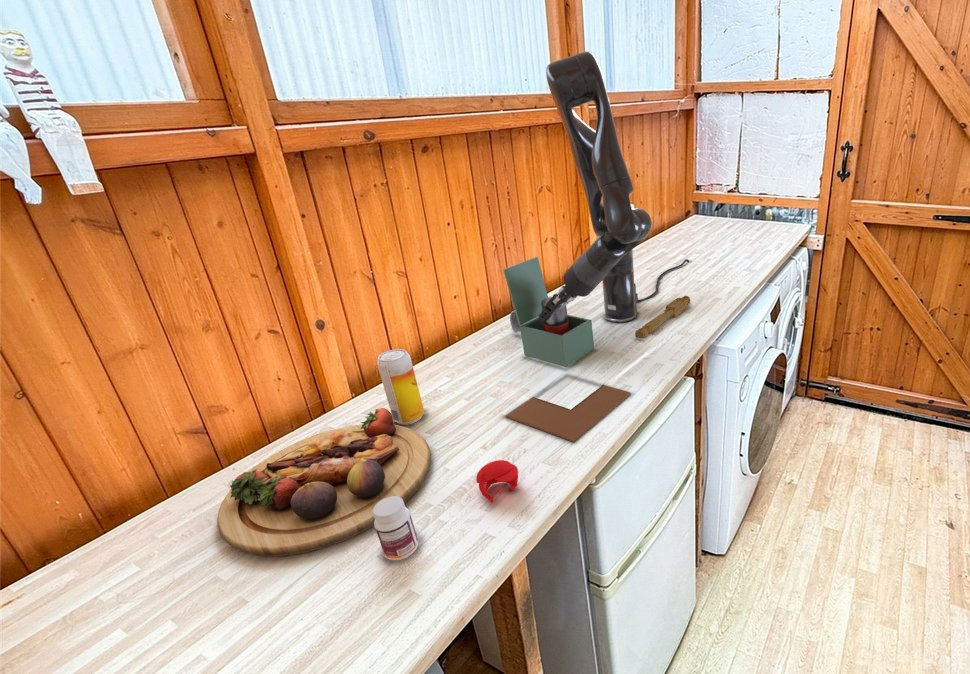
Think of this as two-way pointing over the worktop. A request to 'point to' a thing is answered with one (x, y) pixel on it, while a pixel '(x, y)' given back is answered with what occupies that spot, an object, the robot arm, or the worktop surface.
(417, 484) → the wooden plate
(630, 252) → the robot arm
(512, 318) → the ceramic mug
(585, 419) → the mat
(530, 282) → the bin lid
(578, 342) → the bin
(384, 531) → the pill bottle
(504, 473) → the cap
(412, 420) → the beer can
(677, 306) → the tap handle
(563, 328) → the tin
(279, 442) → the worktop surface
